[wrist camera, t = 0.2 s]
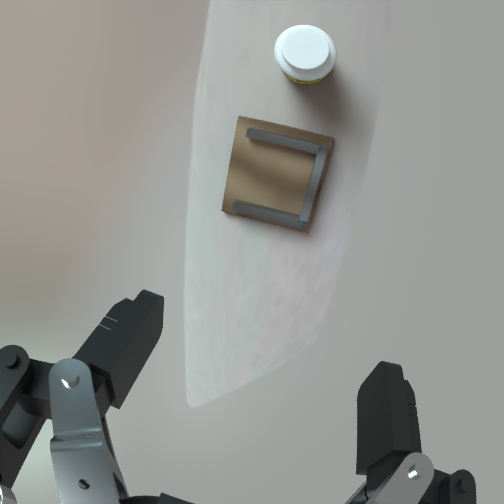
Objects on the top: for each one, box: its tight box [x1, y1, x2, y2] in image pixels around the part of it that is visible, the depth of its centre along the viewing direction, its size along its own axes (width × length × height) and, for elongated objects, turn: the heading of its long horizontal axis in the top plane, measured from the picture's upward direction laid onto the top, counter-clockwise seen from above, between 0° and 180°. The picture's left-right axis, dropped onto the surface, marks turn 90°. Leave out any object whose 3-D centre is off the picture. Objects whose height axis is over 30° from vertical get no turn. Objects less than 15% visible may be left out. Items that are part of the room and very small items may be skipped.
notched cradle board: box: [222, 116, 334, 233], centre depth 35 cm, size 12×11×2 cm
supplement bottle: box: [274, 25, 337, 85], centre depth 25 cm, size 6×6×10 cm
